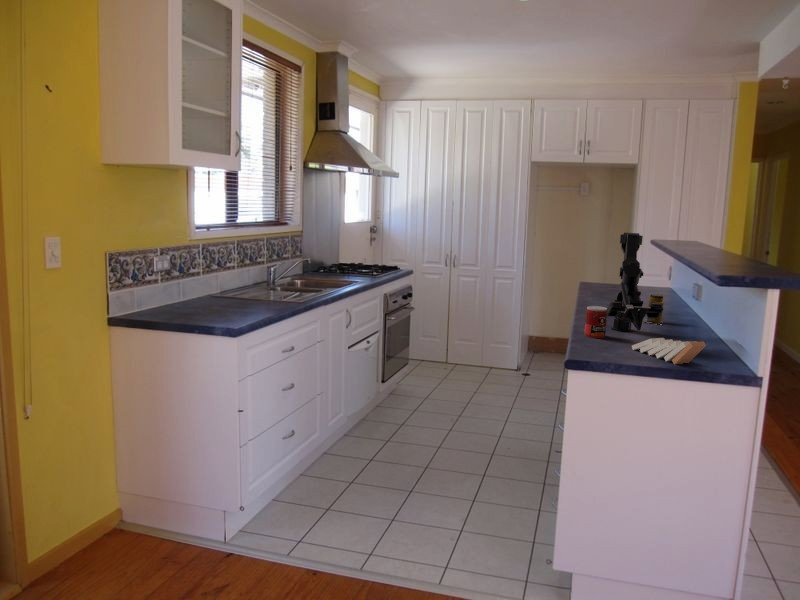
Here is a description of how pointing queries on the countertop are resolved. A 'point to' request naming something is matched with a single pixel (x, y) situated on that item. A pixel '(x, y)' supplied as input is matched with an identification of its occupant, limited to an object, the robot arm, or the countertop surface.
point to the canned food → (596, 322)
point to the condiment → (657, 300)
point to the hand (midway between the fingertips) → (639, 329)
